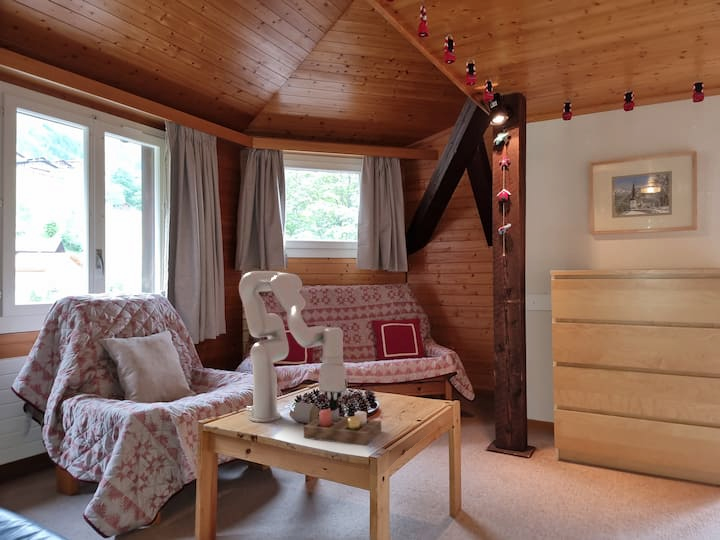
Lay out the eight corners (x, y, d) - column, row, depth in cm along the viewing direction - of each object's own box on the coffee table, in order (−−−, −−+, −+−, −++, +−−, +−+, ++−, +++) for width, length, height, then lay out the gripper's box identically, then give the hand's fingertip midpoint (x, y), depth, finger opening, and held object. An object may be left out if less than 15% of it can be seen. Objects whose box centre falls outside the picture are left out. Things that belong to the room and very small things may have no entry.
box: (303, 437, 184) (303, 426, 184) (322, 425, 199) (322, 414, 199) (366, 445, 176) (366, 433, 176) (381, 431, 191) (381, 420, 191)
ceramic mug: (311, 426, 198) (311, 406, 198) (292, 423, 201) (292, 404, 202) (323, 419, 208) (323, 400, 208) (305, 417, 211) (305, 398, 211)
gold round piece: (345, 433, 181) (345, 419, 181) (350, 430, 185) (350, 415, 185) (357, 435, 180) (357, 420, 180) (361, 431, 184) (361, 416, 184)
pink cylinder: (317, 426, 185) (317, 412, 185) (322, 423, 189) (322, 408, 189) (328, 427, 184) (328, 413, 184) (333, 424, 188) (333, 410, 188)
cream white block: (352, 428, 188) (352, 413, 188) (357, 424, 192) (357, 410, 192) (364, 429, 186) (364, 414, 186) (368, 425, 190) (368, 411, 190)
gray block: (325, 424, 192) (325, 410, 192) (330, 421, 196) (330, 407, 196) (336, 425, 190) (336, 411, 190) (340, 422, 194) (340, 408, 194)
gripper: (310, 361, 192) (311, 410, 192) (347, 363, 187) (348, 413, 187) (319, 358, 199) (319, 405, 199) (355, 359, 194) (355, 408, 194)
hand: (333, 409), depth 193 cm, fingers closed
